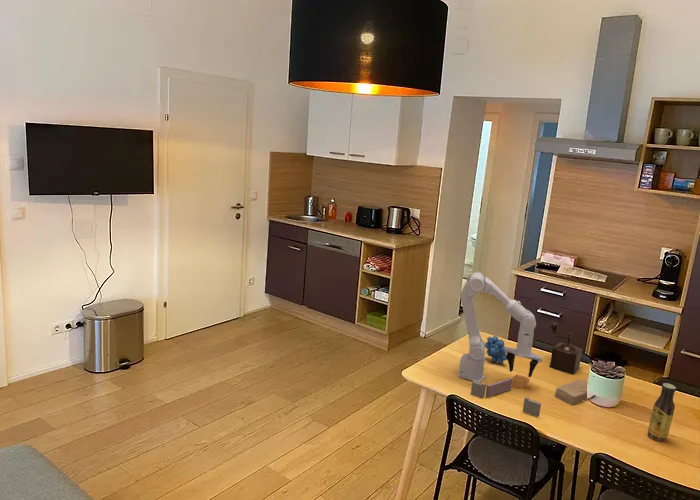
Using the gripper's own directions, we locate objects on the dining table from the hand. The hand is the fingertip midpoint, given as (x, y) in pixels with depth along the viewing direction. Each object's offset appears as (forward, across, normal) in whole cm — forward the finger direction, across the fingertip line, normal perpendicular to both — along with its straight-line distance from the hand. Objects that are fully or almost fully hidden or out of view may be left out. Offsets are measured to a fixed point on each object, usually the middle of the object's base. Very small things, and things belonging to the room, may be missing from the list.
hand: (520, 373), depth 222 cm
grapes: (+5, -16, +15) cm, 22 cm away
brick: (+6, +21, +6) cm, 22 cm away
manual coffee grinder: (+5, +8, +33) cm, 34 cm away
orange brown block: (+5, 0, +2) cm, 6 cm away
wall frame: (+5, +1, -21) cm, 21 cm away
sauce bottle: (+6, +51, -7) cm, 52 cm away
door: (+5, -4, -13) cm, 15 cm away
